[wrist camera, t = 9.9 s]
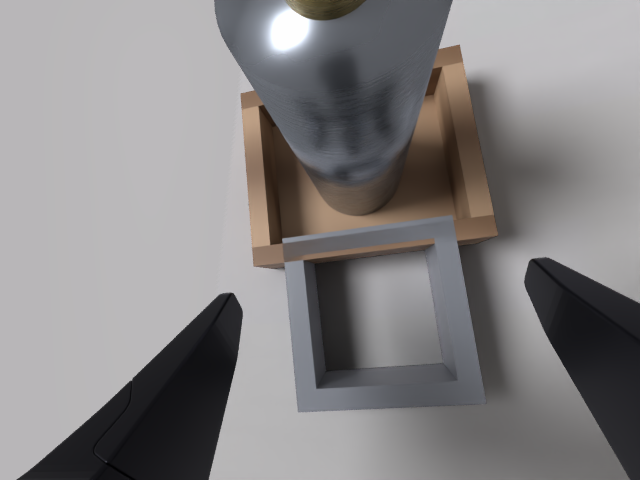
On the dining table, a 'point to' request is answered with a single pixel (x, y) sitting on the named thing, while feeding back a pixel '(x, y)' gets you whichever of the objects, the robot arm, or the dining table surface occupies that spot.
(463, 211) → the wooden tray
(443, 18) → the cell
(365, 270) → the dining table surface
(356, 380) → the tray
